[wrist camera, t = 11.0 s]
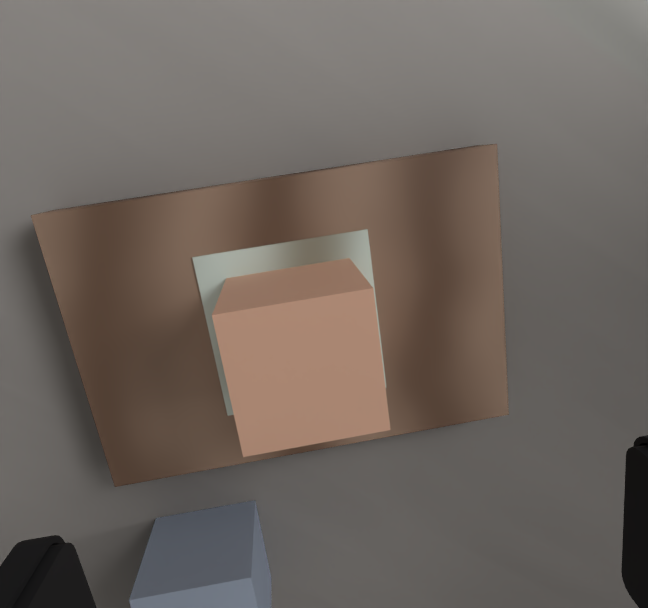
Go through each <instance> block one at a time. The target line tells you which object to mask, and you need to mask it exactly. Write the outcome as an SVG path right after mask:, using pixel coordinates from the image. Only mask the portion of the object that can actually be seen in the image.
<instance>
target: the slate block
mask: <svg viewBox="0 0 648 608" xmlns="http://www.w3.org/2000/svg"><path fill="white" fill-rule="evenodd" d="M129 602H130V605H131V608H271V574H270V569H269V564H268V560H267V555H266V550H265V545H264V540H263V535H262V531H261V526H260V521H259V516H258V511H257V506H256V502H255V500H254V501H248V502H243V503H237V504H232V505H226V506H221V507H215V508H209V509H204V510H198V511H193V512H187V513H182V514H176V515H171V516H165V517H159V518H156V519H155V523H154V526H153V529H152V532H151V535H150V538H149V541H148V544H147V547H146V550H145V553H144V556H143V559H142V562H141V565H140V568H139V571H138V574H137V577H136V580H135V583H134V586H133V589H132V593H131V596H130V599H129Z"/></svg>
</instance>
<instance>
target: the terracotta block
mask: <svg viewBox="0 0 648 608" xmlns="http://www.w3.org/2000/svg"><path fill="white" fill-rule="evenodd" d="M212 319H213V323H214V328H215V332H216V337H217V341H218V346H219V350H220V355H221V359H222V364H223V368H224V373H225V377H226V382H227V386H228V391H229V395H230V400H231V404H232V409H233V413H234V418H235V422H236V427H237V432H238V436H239V441H240V445H241V450H242V454H243V457H247V456H252V455H258V454H263V453H269V452H274V451H280V450H285V449H290V448H296V447H301V446H307V445H312V444H318V443H323V442H328V441H334V440H339V439H345V438H350V437H356V436H361V435H366V434H372V433H377V432H383V431H388V430H391V429H390V421H389V412H388V404H387V396H386V388H385V380H384V371H383V363H382V355H381V347H380V339H379V330H378V322H377V314H376V306H375V298H374V289H373V287H372V286H371V284H370V283H369V282H368V281H367V279H366V278H365V277H364V276H363V274H362V273H361V272H360V271H359V269H358V268H357V267H356V266H355V264H354V263H353V262H352V260H351V259H350V258H346V259H340V260H334V261H328V262H322V263H316V264H310V265H304V266H298V267H291V268H285V269H279V270H273V271H267V272H261V273H255V274H249V275H243V276H237V277H231V278H226V280H225V283H224V285H223V288H222V290H221V293H220V295H219V298H218V301H217V303H216V306H215V308H214V311H213V313H212Z"/></svg>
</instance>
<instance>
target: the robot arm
mask: <svg viewBox="0 0 648 608" xmlns="http://www.w3.org/2000/svg"><path fill="white" fill-rule="evenodd" d="M622 578H623V582H624V584H625V587H626V589H627V591H628V593H629V595H630V596H631V598H632V599H633V600H634V602H635V603H636V604H637V605H638V607H639V608H648V435H647V436H641V437H639V438H637V439H636V440H635V442H634V446H633V447H631V448H629V449H628V451H627V454H626V472H625V499H624V525H623V551H622ZM0 608H96V605H95V603H94V600H93V597H92V594H91V591H90V589H89V586H88V583H87V580H86V577H85V575H84V572H83V569H82V566H81V563H80V561H79V558H78V555H77V552H76V549H75V547H74V545H72V544H71V543H65V542H64V540H63V539H62V538H61V537H60V536H56V535H54V536H48V537H42V538H36V539H30V540H25V541H21V542H19V543H17V544H16V545H15V547H14V548H13V549H12V550H11V552H10V553H9V555H8V556H7V557H6V559H5V560H4V562H3V563H2V565H1V566H0Z"/></svg>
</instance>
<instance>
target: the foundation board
mask: <svg viewBox="0 0 648 608" xmlns="http://www.w3.org/2000/svg"><path fill="white" fill-rule="evenodd" d="M31 218H32V221H33V224H34V228H35V231H36V234H37V237H38V240H39V244H40V247H41V250H42V253H43V257H44V260H45V263H46V266H47V269H48V273H49V276H50V279H51V282H52V286H53V289H54V292H55V295H56V298H57V302H58V305H59V308H60V311H61V315H62V318H63V321H64V324H65V327H66V331H67V334H68V337H69V340H70V344H71V347H72V350H73V353H74V356H75V360H76V363H77V366H78V369H79V373H80V376H81V379H82V382H83V385H84V389H85V392H86V395H87V398H88V402H89V405H90V408H91V411H92V414H93V418H94V421H95V424H96V427H97V431H98V434H99V437H100V440H101V443H102V447H103V450H104V453H105V456H106V460H107V463H108V466H109V469H110V472H111V476H112V479H113V482H114V485H115V487H117V486H122V485H128V484H133V483H139V482H144V481H150V480H155V479H161V478H166V477H172V476H177V475H182V474H188V473H193V472H199V471H204V470H210V469H215V468H221V467H226V466H232V465H237V464H242V463H248V462H253V461H259V460H264V459H270V458H275V457H281V456H286V455H292V454H297V453H302V452H308V451H313V450H319V449H324V448H330V447H335V446H341V445H346V444H351V443H357V442H362V441H368V440H373V439H379V438H384V437H390V436H395V435H401V434H406V433H411V432H417V431H422V430H428V429H433V428H439V427H444V426H450V425H455V424H461V423H466V422H471V421H477V420H482V419H488V418H493V417H499V416H504V415H509V410H508V387H507V364H506V341H505V317H504V294H503V271H502V248H501V225H500V202H499V178H498V155H497V144H491V145H477V146H471V147H464V148H458V149H451V150H445V151H438V152H431V153H425V154H418V155H412V156H405V157H399V158H392V159H386V160H379V161H373V162H366V163H359V164H353V165H346V166H340V167H333V168H327V169H320V170H314V171H307V172H301V173H294V174H287V175H281V176H274V177H268V178H261V179H255V180H248V181H242V182H235V183H228V184H222V185H215V186H209V187H202V188H196V189H189V190H183V191H176V192H170V193H163V194H156V195H150V196H143V197H137V198H130V199H124V200H117V201H111V202H104V203H98V204H91V205H84V206H78V207H71V208H65V209H58V210H52V211H48V212H43V213H39V214H35V215H31ZM346 258H350V259H351V260H352V262H353V263H354V264H355V266H356V267H357V268H358V269H359V271H360V272H361V273H362V274H363V276H364V277H365V278H366V279H367V281H368V282H369V283H370V284H371V286H372V287H373V289H374V298H375V306H376V314H377V322H378V330H379V339H380V347H381V355H382V363H383V371H384V380H385V388H386V396H387V404H388V412H389V421H390V429H391V430H388V431H383V432H377V433H372V434H366V435H361V436H356V437H350V438H345V439H339V440H334V441H328V442H323V443H318V444H312V445H307V446H301V447H296V448H290V449H285V450H280V451H274V452H269V453H263V454H258V455H252V456H247V457H243V454H242V450H241V445H240V441H239V436H238V432H237V427H236V422H235V418H234V413H233V409H232V404H231V400H230V395H229V391H228V386H227V382H226V377H225V373H224V368H223V364H222V359H221V355H220V350H219V346H218V341H217V337H216V332H215V328H214V323H213V319H212V313H213V311H214V308H215V306H216V303H217V301H218V298H219V295H220V293H221V290H222V288H223V285H224V283H225V280H226V278H231V277H237V276H243V275H249V274H255V273H261V272H267V271H273V270H279V269H285V268H291V267H298V266H304V265H310V264H316V263H322V262H328V261H334V260H340V259H346Z"/></svg>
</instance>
